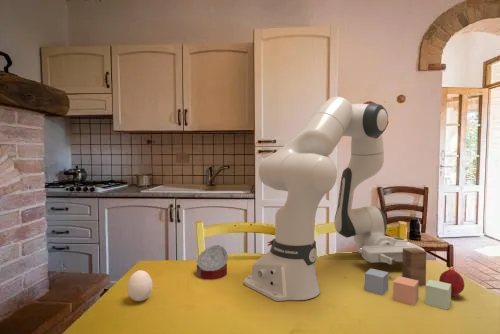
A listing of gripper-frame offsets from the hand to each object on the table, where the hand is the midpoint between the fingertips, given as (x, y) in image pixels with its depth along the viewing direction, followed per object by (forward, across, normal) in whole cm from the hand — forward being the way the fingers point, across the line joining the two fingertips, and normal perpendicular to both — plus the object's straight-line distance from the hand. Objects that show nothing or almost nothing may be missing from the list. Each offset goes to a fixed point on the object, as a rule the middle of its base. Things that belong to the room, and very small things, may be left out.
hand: (406, 261), depth 97 cm
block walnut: (+3, 0, +5) cm, 6 cm away
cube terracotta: (+13, -9, +6) cm, 17 cm away
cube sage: (+16, -2, +6) cm, 17 cm away
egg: (+5, -79, +6) cm, 80 cm away
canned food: (-12, -60, +6) cm, 62 cm away
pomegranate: (+13, +5, +6) cm, 15 cm away
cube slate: (+6, -13, +6) cm, 16 cm away
